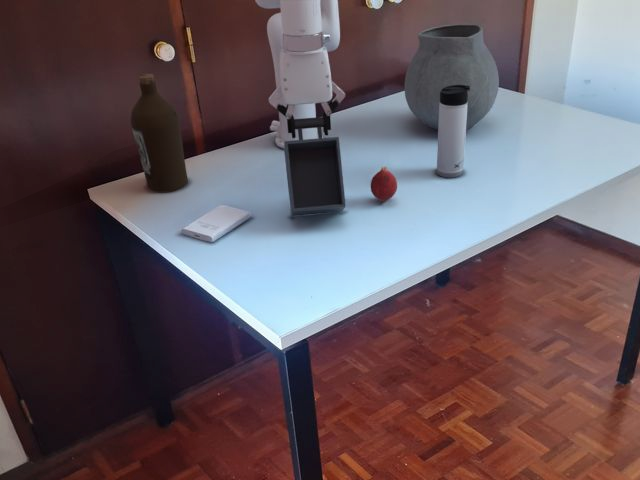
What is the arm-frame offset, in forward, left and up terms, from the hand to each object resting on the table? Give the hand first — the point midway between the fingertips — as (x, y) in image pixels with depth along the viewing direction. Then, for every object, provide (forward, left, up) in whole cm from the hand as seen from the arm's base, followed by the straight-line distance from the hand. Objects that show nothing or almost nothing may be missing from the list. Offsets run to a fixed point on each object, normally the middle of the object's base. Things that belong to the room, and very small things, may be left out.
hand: (309, 134), depth 146 cm
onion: (+13, +9, -16) cm, 22 cm away
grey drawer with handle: (0, 0, -8) cm, 8 cm away
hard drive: (-12, -18, -16) cm, 27 cm away
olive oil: (-37, -7, -16) cm, 41 cm away
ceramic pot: (+5, +58, -16) cm, 60 cm away
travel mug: (+19, +30, -16) cm, 39 cm away
